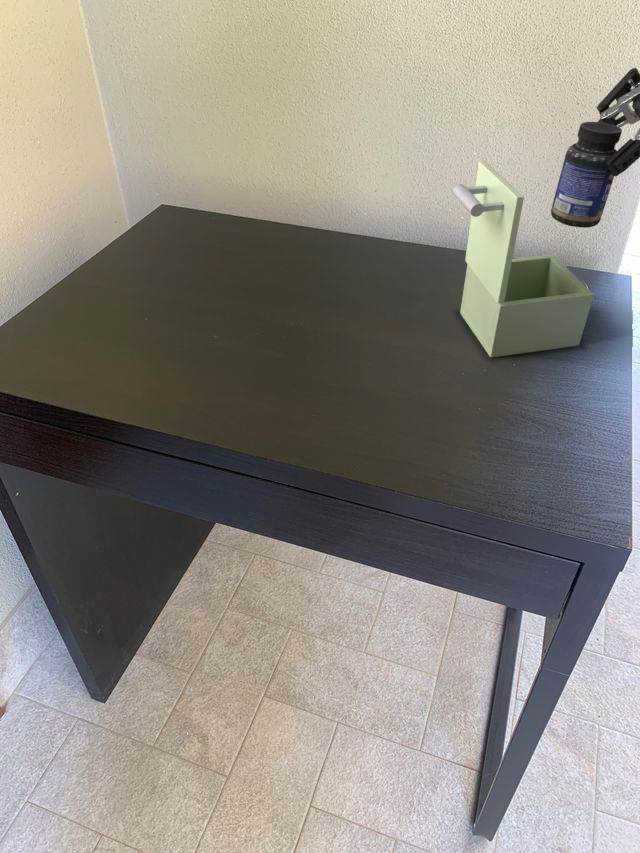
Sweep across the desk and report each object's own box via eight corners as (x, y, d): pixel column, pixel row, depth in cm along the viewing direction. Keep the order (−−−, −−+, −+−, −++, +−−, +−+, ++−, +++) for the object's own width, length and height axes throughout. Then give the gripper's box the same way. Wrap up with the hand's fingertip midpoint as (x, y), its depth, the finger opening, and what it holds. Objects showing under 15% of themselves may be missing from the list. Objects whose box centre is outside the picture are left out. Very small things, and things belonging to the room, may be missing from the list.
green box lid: (485, 160, 85) (447, 164, 84) (524, 196, 76) (482, 201, 76) (470, 260, 94) (436, 264, 93) (504, 302, 85) (466, 307, 85)
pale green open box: (541, 302, 101) (553, 254, 96) (579, 345, 93) (594, 294, 87) (460, 313, 99) (467, 263, 94) (490, 357, 91) (500, 306, 85)
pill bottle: (604, 231, 83) (635, 136, 76) (554, 227, 83) (580, 132, 77) (592, 211, 88) (620, 121, 81) (545, 208, 88) (569, 117, 81)
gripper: (668, 3, 78) (551, 120, 85) (753, 31, 68) (611, 161, 74) (694, 52, 83) (580, 159, 89) (777, 85, 72) (641, 204, 78)
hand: (595, 160), depth 81 cm, fingers closed on pill bottle, 6 cm apart
